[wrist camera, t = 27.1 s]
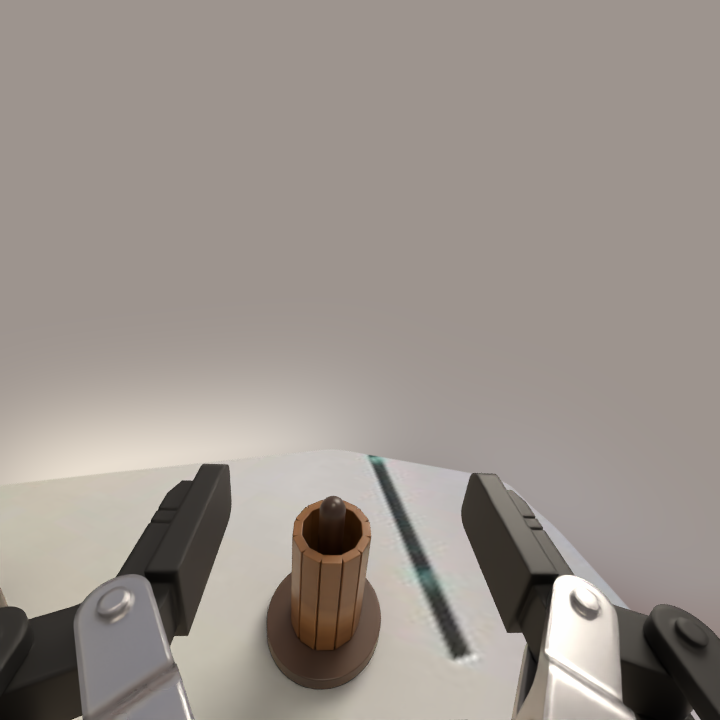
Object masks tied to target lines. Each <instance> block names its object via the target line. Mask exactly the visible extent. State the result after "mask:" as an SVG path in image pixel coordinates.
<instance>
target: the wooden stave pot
mask: <svg viewBox="0 0 720 720" xmlns="http://www.w3.org/2000/svg"><path fill="white" fill-rule="evenodd" d="M322 502H323V500H321V501H318V502H316V503H313V504H311V505H308V508H307V507H305V508H304V510H303V511H302V512H301V513H300V514H299V515H298V516H297V518H296V521H295V522H294V529H293V539H292V587H291V623H292V626H293V628H294V631H295V633H296V635H297V638H300V641H302V642H303V643H305V644H306V645H307V646H309V647H310V648H312V649H315V647H316V650H333V649H334V647H335V649H337V648H338V647H340V646H341V645H343V644H344V643H346V642H347V641H349V640H350V637H353V634H354V632H355V630H356V628H357V626H358V624H359V620H360V614H361V607H362V600H363V592H364V585H365V578H366V570H367V563H368V556H369V549H370V541H371V530H370V522H368V521H369V520H368V518H367V517H366V516H365V515H364V513H363V512H362V511H361V510H360V509H359V508H358V509H357V506H355V505H352V504H350V503H348V502H346V501H343V502H344V503H345V506H346V515H345V525H344V536H343V546H342V555H322V554H320V553H318V552H317V546H318V529H319V512H320V506H321V503H322Z"/></svg>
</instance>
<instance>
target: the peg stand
mask: <svg viewBox="0 0 720 720" xmlns="http://www.w3.org/2000/svg"><path fill="white" fill-rule="evenodd" d="M345 515H346V506H345V503H344V502H343V500H342V499H341V498H339V497H337V496H330V497H327V498H326V499H324V500H323V502H322V503H321V506H320V512H319V529H318V546H317V552H318V553H320V554H322V555H342V546H343V536H344V525H345ZM291 587H292V572H291V573H290V574H289V575H288V576H287V577H286V578H285V579H284V580H283V581H282V582H281V583H280V585H279V586H278V588H277V589H276V591H275V593H274V595H273V597H272V599H271V602H270V605H269V609H268V615H267V638H268V645H269V648H270V652H271V654H272V657H273V659H274V661H275V663H276V664H277V666H278V667H279V669H280V670H281V671H282V672H283V673H284V674H285V675H286V676H287V677H288V678H289V679H291V680H292V681H294V682H296V683H297V684H299V685H302V686H304V687H308V688H313V689H329V688H333V687H337V686H340V685H342V684H344V683H347V682H348V681H350V680H351V679H353V678H354V677H355V676H357V675H358V674H359V673H360V672H361V671H362V670H363V669H364V667H365V666H366V665H367V664H368V662H369V660H370V659H371V657H372V655H373V653H374V651H375V648H376V645H377V642H378V637H379V631H380V623H381V613H380V606H379V602H378V598H377V596H376V593H375V591H374V589H373V587H372V586H371V584H370V583H369V581H368V580H367V579H366V578H365V585H364V592H363V600H362V607H361V614H360V620H359V624H358V626H357V628H356V630H355V632H354V634H353V637H350V640H349V641H347V642H346V643H344V644H343V645H341V646H340V647H338V648H337V649H335V647H334V649H333V650H316V647H315V649H312V648H310V647H309V646H307V645H306V644H305V643H303V642H302V641H300V638H297V635H296V633H295V631H294V628H293V626H292V623H291Z"/></svg>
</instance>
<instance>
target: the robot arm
mask: <svg viewBox="0 0 720 720" xmlns="http://www.w3.org/2000/svg"><path fill="white" fill-rule="evenodd" d="M230 512H231V486H230V470H229V466H228V465H225V464H203V465H202V466H201V467H200V469H199V471H198V473H197V474H196V476H195V478H194V480H193V481H183V480H182V481H181V482H180V483H179V484H178V485H176V486H175V487H174V488H173V489H172V490H170V491H169V492H168V493H167V495H166V496H165V498H164V500H163V501H162V503H161V504H160V506H159V509H158V511H156V513H155V514H154V516H153V518H152V519H151V523H149V524H148V526H147V527H146V529H145V531H144V532H143V534H142V536H141V537H140V539H139V540H138V542H137V544H136V545H135V547H134V549H133V550H132V552H131V554H130V555H129V557H128V558H127V560H126V562H125V563H124V565H123V567H122V568H121V570H120V572H119V573H118V574H117V576H116V577H115V578H113V579H111V580H109V581H107V582H105V583H103V584H102V585H100V586H99V587H97V588H96V589H95V590H94V591H92V592H91V593H90V594H89V595H88V596H87V597H86V598H85V600H84V601H83V602H82V603H80V604H78V605H75V606H73V607H70V608H66V609H63V610H59V611H56V612H53V613H49V614H46V615H42V616H39V617H35V618H32V619H29V620H28V618H27V616H26V614H25V612H24V611H23V610H22V609H20V608H17V607H8V605H7V602H6V600H5V597H4V595H3V593H2V590H1V588H0V720H72V719H74V718H77V717H79V716H82V715H83V720H194V717H193V714H192V710H191V707H190V704H189V701H188V698H187V694H186V691H185V688H184V685H183V681H182V678H181V675H180V672H179V669H178V667H177V664H175V662H174V659H173V656H172V653H171V650H170V645H171V642H172V640H173V637H174V636H188V634H189V632H190V629H191V626H192V623H193V620H194V618H195V615H196V612H197V609H198V606H199V603H200V601H201V598H202V595H203V592H204V589H205V586H206V584H207V581H208V578H209V575H210V572H211V569H212V567H213V564H214V561H215V558H216V555H217V553H218V550H219V547H220V544H221V541H222V538H223V536H224V533H225V530H226V527H227V524H228V521H229V517H230ZM461 516H462V523H463V526H464V529H465V531H466V534H467V536H468V539H469V541H470V544H471V546H472V548H473V551H474V553H475V556H476V558H477V561H478V563H479V565H480V568H481V570H482V573H483V575H484V578H485V580H486V582H487V585H488V587H489V590H490V592H491V595H492V597H493V599H494V602H495V604H496V607H497V609H498V612H499V614H500V616H501V619H502V621H503V624H504V626H505V629H506V631H507V633H523V635H524V637H525V639H526V642H527V644H526V646H525V649H524V653H523V659H522V664H521V670H520V675H519V681H518V686H517V692H516V697H515V702H514V708H513V713H512V719H511V720H695V719H694V718H693V716H692V715H691V713H690V712H691V711H692V710H693V709H694V710H695V712H696V713H697V715H698V716H699V718H700V719H701V720H720V639H719V638H718V637H717V635H715V633H714V632H713V631H712V630H711V629H710V628H709V627H708V626H706V625H705V624H704V623H703V622H701V621H700V620H699V619H697V618H696V617H694V616H693V615H691V614H690V613H688V612H686V611H684V610H682V609H680V608H677V607H675V606H672V605H666V604H660V605H657V606H655V607H654V609H653V610H652V611H651V613H650V615H649V616H647V615H644V614H641V613H637V612H635V611H631V610H628V609H625V608H622V607H619V606H616V605H613V604H612V603H611V602H610V601H609V599H608V598H607V597H606V596H605V595H604V594H603V593H602V592H601V591H600V590H599V589H598V588H597V587H595V586H594V585H592V584H591V583H589V582H588V581H586V580H584V579H582V578H579V577H576V576H575V575H574V574H573V572H572V571H571V569H570V568H569V566H568V565H567V563H566V562H565V560H564V559H563V557H562V556H561V554H560V553H559V551H558V550H557V548H556V547H555V545H554V544H553V542H552V541H551V539H550V538H549V536H548V535H547V533H546V532H545V531H544V530H543V527H542V526H541V524H540V523H539V521H538V520H537V519H535V515H534V514H533V512H532V511H531V509H530V508H529V506H528V505H527V503H526V502H525V501H524V500H523V499H522V498H520V497H519V496H518V495H517V494H516V493H515V492H514V491H512V490H506V488H505V487H504V485H503V483H502V482H501V480H500V479H499V477H498V476H497V475H496V474H485V473H484V474H483V473H473V474H471V476H470V479H469V482H468V486H467V490H466V493H465V497H464V501H463V505H462V510H461Z"/></svg>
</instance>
